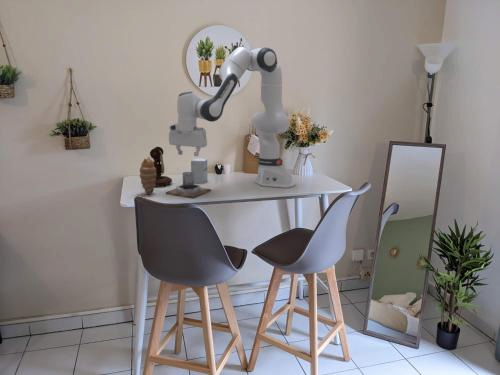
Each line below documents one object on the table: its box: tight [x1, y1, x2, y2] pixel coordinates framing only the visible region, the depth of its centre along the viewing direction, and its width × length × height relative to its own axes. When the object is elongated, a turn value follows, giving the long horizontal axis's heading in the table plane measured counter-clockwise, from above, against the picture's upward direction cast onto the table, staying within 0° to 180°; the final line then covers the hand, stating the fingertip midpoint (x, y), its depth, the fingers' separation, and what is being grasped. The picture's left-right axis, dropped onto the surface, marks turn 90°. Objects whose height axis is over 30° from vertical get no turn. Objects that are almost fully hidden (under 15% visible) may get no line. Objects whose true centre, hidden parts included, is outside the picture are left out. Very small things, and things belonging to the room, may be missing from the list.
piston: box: [182, 171, 195, 189], centre depth 196 cm, size 6×6×9 cm
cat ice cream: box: [139, 156, 157, 195], centre depth 191 cm, size 9×8×18 cm
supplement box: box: [190, 158, 208, 185], centre depth 218 cm, size 7×7×13 cm
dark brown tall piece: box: [149, 146, 173, 188], centre depth 210 cm, size 15×15×20 cm
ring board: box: [165, 183, 212, 199], centre depth 197 cm, size 16×16×3 cm
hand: (188, 155), depth 193 cm, fingers open, 8 cm apart
